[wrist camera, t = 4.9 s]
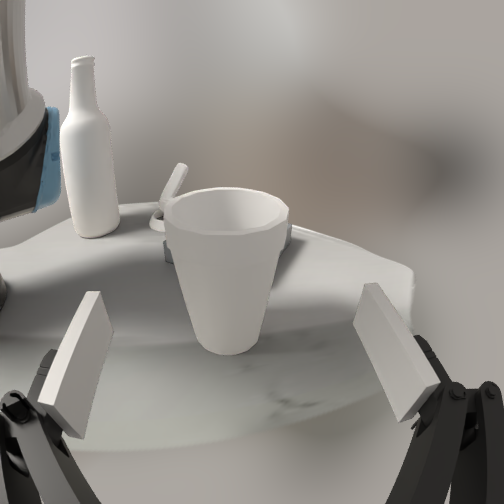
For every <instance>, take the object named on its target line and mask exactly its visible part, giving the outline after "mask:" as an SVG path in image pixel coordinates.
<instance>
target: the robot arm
mask: <svg viewBox="0 0 504 504" xmlns="http://www.w3.org/2000/svg"><path fill="white" fill-rule="evenodd" d="M59 131H60V130H59V110H58V109H57V108H55V107H53V108H51V107H47V108H45V102H44V99H43V96H42V95H41V94H40V93H39V92H38V91H37V90H34V89H32V88H29V87H28V78H27V67H26V53H25V0H0V222H3V221H5V220H9V219H12V218H15V217H19V216H22V215H25V214H28V213H35V212H36V211H37V210H38V209H41V208H44V207H47V206H50V205H52V204H54V203H55V202H56V201H57V200H58V198H59V196H60V193H61V175H60V156H59V154H60V151H59V150H60V149H59V148H60V132H59ZM6 295H7V289H6V285H5V283H4V281H3V278H2V276H1V274H0V310H1V308H2V306H3V304H4V302H5V299H6ZM353 325H354V327H355V329H356V331H357V334H358V336H359V338H360V340H361V342H362V344H363V346H364V348H365V350H366V352H367V354H368V356H369V359H370V361H371V363H372V365H373V367H374V369H375V371H376V374H377V376H378V378H379V380H380V382H381V384H382V387H383V389H384V391H385V393H386V395H387V398H388V400H389V402H390V404H391V407H392V409H393V412H394V414H395V416H396V419H397V421H398V423H399V422H403V421H406V420H409V419H412V418H413V417H414V415H415V414H416V413H417V412H419V414H420V416H421V417H420V418H419V419H418V420H417V421H416V422H415V423H414V424H413V426H412V427H411V429H414V428H415V426H416V429H415V431H414V434H413V437H412V440H411V443H410V446H409V449H408V452H407V455H406V457H405V460H404V462H403V465H402V467H401V470H400V472H399V475H398V477H397V479H396V482H395V484H394V486H393V489H392V491H391V493H390V495H389V497H388V499H387V501H386V503H385V504H444V502H445V499H446V496H447V493H448V490H449V487H450V484H451V492H450V501H449V504H504V406H503V401H502V395H501V391H500V389H499V387H498V386H497V385H496V384H495V383H493V382H490V381H487V382H484V383H483V384H482V385H481V386H480V387H479V389H466V388H465V387H464V386H463V385H462V384H460V383H458V382H452V381H451V379H450V378H449V376H448V374H447V373H446V371H445V369H444V368H443V366H442V364H441V363H440V361H439V360H438V358H436V355H435V353H434V352H433V351H432V349H431V347H430V345H429V344H428V343H427V341H426V340H425V339H423V338H422V337H421V336H420V335H416V336H413V335H412V334H411V332H410V331H409V329H408V328H407V326H406V324H405V323H404V321H403V320H402V318H401V317H400V315H399V314H398V312H397V311H396V309H395V308H394V306H393V305H392V303H391V302H390V300H389V299H388V297H387V296H386V295H385V293H384V292H383V290H382V289H381V287H380V286H379V284H378V283H368V284H364V288H363V291H362V295H361V298H360V301H359V305H358V308H357V311H356V314H355V318H354V321H353ZM113 333H114V331H113V328H112V325H111V322H110V320H109V317H108V314H107V311H106V308H105V305H104V302H103V299H102V296H101V292H100V291H87V292H86V294H85V296H84V298H83V300H82V302H81V303H80V305H79V307H78V309H77V311H76V313H75V315H74V317H73V319H72V321H71V323H70V325H69V327H68V330H67V332H66V334H65V336H64V338H63V340H62V342H61V345H60V347H59V349H58V350H53V349H51V350H50V351H49V352H48V353H47V354H46V355H45V356H44V358H43V360H42V362H41V364H40V368H39V369H38V371H37V375H36V376H35V378H34V381H33V383H32V385H31V388H30V390H29V393H28V396H27V398H26V397H25V396H24V395H23V394H22V393H21V392H20V391H16V390H12V391H9V392H8V393H6V394H5V395H4V396H3V398H2V399H1V402H0V410H1V411H2V412H0V504H42V503H41V499H40V496H41V498H42V500H43V502H44V504H101V503H100V501H99V500H98V498H97V497H96V495H95V494H94V492H93V491H92V489H91V487H90V486H89V484H88V483H87V481H86V479H85V478H84V476H83V474H82V473H81V471H80V469H79V468H78V466H77V464H76V462H75V460H74V458H73V457H72V455H71V453H70V451H69V449H68V447H67V445H66V443H65V441H64V439H63V438H62V437H61V435H62V431H64V432H65V433H66V434H67V435H68V436H70V437H74V438H79V439H83V440H84V436H85V432H86V427H87V423H88V419H89V415H90V411H91V407H92V403H93V399H94V395H95V392H96V388H97V384H98V381H99V377H100V374H101V371H102V367H103V364H104V361H105V357H106V354H107V351H108V348H109V345H110V342H111V339H112V336H113ZM39 494H40V495H39Z"/></svg>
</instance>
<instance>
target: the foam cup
mask: <svg viewBox="0 0 504 504" xmlns="http://www.w3.org/2000/svg"><path fill="white" fill-rule="evenodd" d="M288 215H289V208H288V207H287V206H286V205H285V204H284V203H283V201H282V200H281V199H279V198H277V197H274V196H272V195H270V194H267V193H265V192H262V191H256V190H250V189H245V188H210V189H203V190H196V191H192V192H190V193H186V194H184V195H181V196H178V197H176V198H174V199H173V200H172V201H171V202H169V203H168V204H167V205H166V206H164V226H165V235H166V244H167V247H168V248H169V249H170V250H171V254H172V258H173V262H174V265H175V269H176V273H177V276H178V280H179V283H180V287H181V290H182V293H183V297H184V300H185V303H186V307H187V310H188V313H189V316H190V319H191V323H192V326H193V329H194V332H195V335H196V337H197V340H198V342H199V343H200V344H201V345H202V346H203V347H204V348H205V349H206V350H208V351H211V352H213V353H215V354H218V355H236V354H239V353H242V352H245V351H248V350H249V349H250V348H251V347H252V346H253V345H254V344H255V343H257V340H258V337H259V334H260V330H261V326H262V322H263V318H264V314H265V311H266V307H267V303H268V299H269V295H270V291H271V287H272V283H273V279H274V275H275V271H276V267H277V263H278V259H279V255H280V251H281V250H283V249H284V245H285V240H286V236H287V226H288Z"/></svg>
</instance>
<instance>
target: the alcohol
mask: <svg viewBox="0 0 504 504" xmlns="http://www.w3.org/2000/svg"><path fill="white" fill-rule="evenodd" d="M94 59H95V58H94V57H93V56H82V57H78V58H74V59H73V60H72V61H71V64H72V67H71V70H72V72H71V85H70V107H69V112H68V116H67V118H66V119H65V121H64V123H63V125H62V127H61V130H60V147H61V155H62V164H63V170H64V177H65V184H66V189H67V195H68V200H69V205H70V210H71V215H72V220H73V224H74V229H75V231H76V232H77V233H78V234H79V235H80V236H81V237H84V238H96V237H100V236H104V235H106V234H109V233H111V232H112V231H114V230H115V229H116V228H117V227H118V225H119V222H120V213H119V207H118V200H117V192H116V185H115V176H114V168H113V157H112V146H111V133H110V125H109V122H108V119H107V117H106V116H105V115H104V114H103V113H102V112H101V111H100V110H99V108H98V105H97V101H96V91H95V80H94V68H93V67H94V62H93V61H94Z"/></svg>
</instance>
